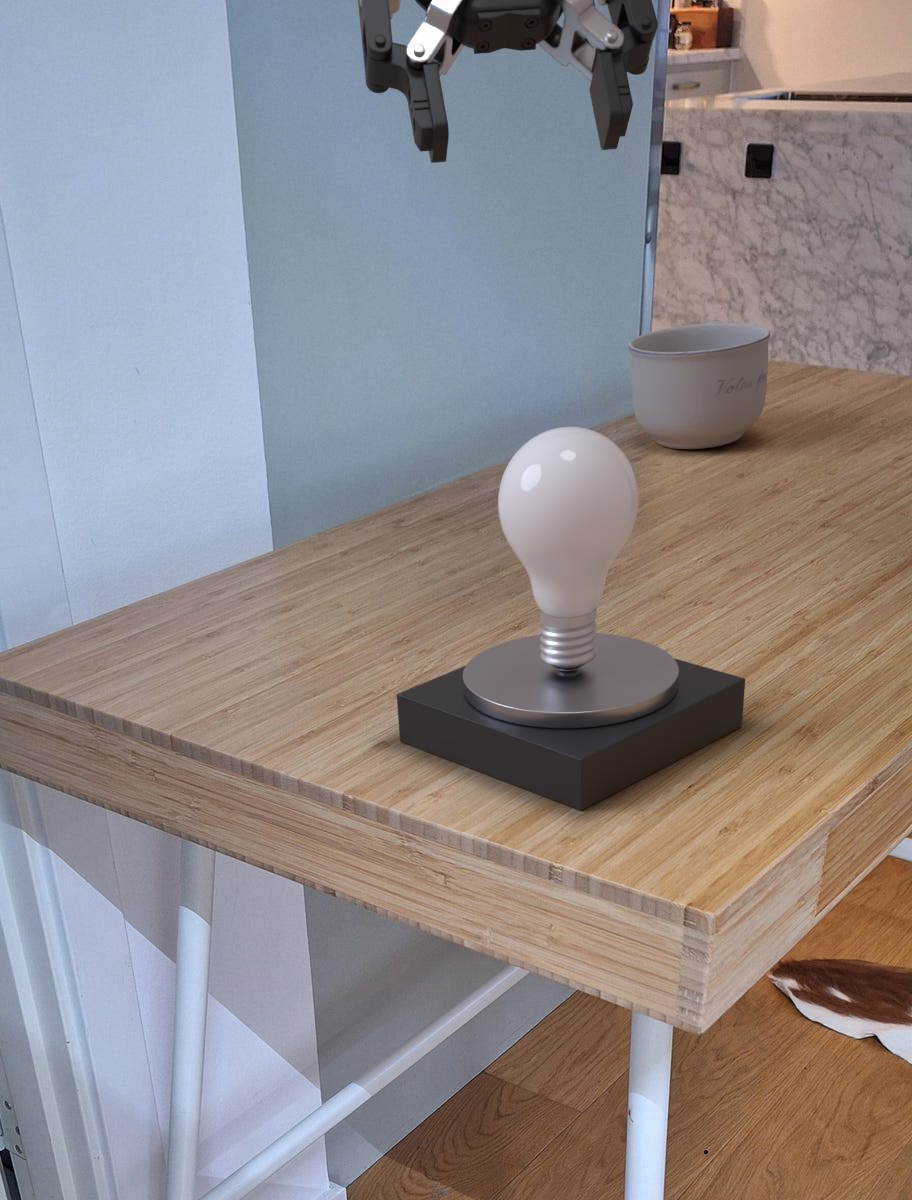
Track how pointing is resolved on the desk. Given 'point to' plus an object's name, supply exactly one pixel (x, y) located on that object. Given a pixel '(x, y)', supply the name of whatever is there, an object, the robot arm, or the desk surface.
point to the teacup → (699, 382)
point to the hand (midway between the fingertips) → (527, 143)
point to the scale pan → (571, 684)
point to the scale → (571, 736)
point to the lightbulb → (568, 531)
